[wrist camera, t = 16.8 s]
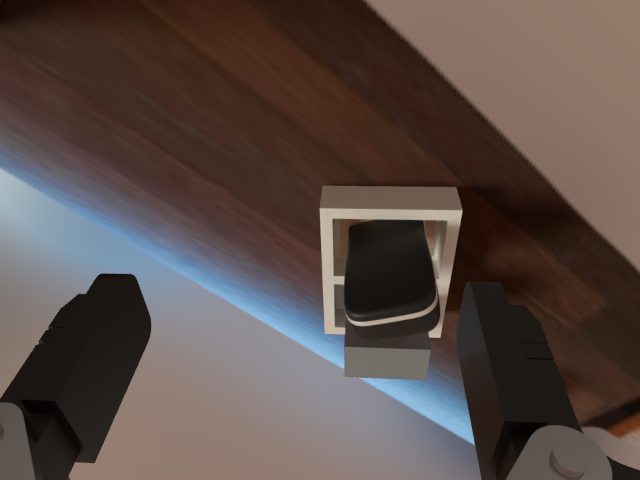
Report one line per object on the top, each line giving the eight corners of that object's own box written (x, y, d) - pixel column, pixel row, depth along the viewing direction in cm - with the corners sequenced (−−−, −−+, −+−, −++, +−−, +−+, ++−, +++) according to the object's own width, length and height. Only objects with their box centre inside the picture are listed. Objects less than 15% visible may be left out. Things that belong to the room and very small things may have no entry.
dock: (327, 308, 52) (320, 388, 44) (322, 185, 43) (313, 259, 35) (436, 311, 51) (448, 394, 43) (456, 187, 42) (477, 263, 34)
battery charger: (356, 256, 46) (354, 354, 37) (345, 224, 44) (339, 320, 35) (431, 240, 44) (448, 339, 35) (423, 206, 42) (439, 302, 33)
